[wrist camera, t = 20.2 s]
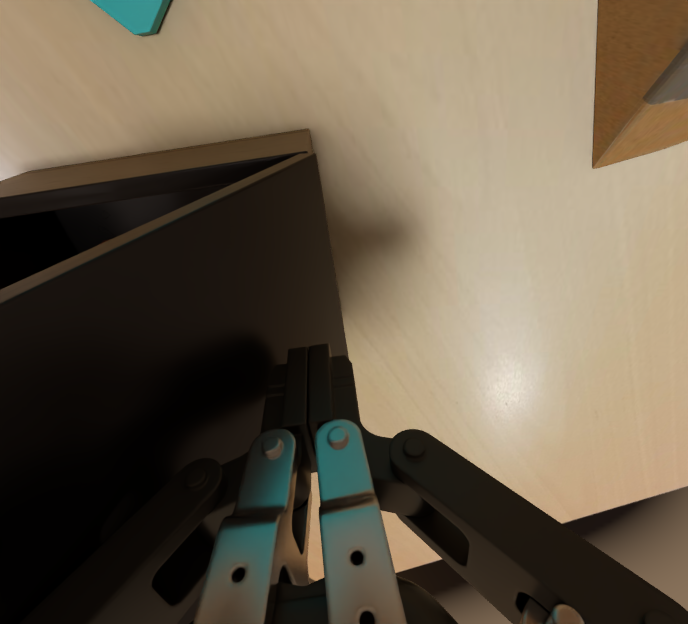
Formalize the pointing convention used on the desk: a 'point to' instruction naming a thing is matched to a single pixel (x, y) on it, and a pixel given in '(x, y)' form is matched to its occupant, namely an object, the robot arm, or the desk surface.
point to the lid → (150, 364)
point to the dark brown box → (119, 196)
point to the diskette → (136, 14)
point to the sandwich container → (640, 78)
